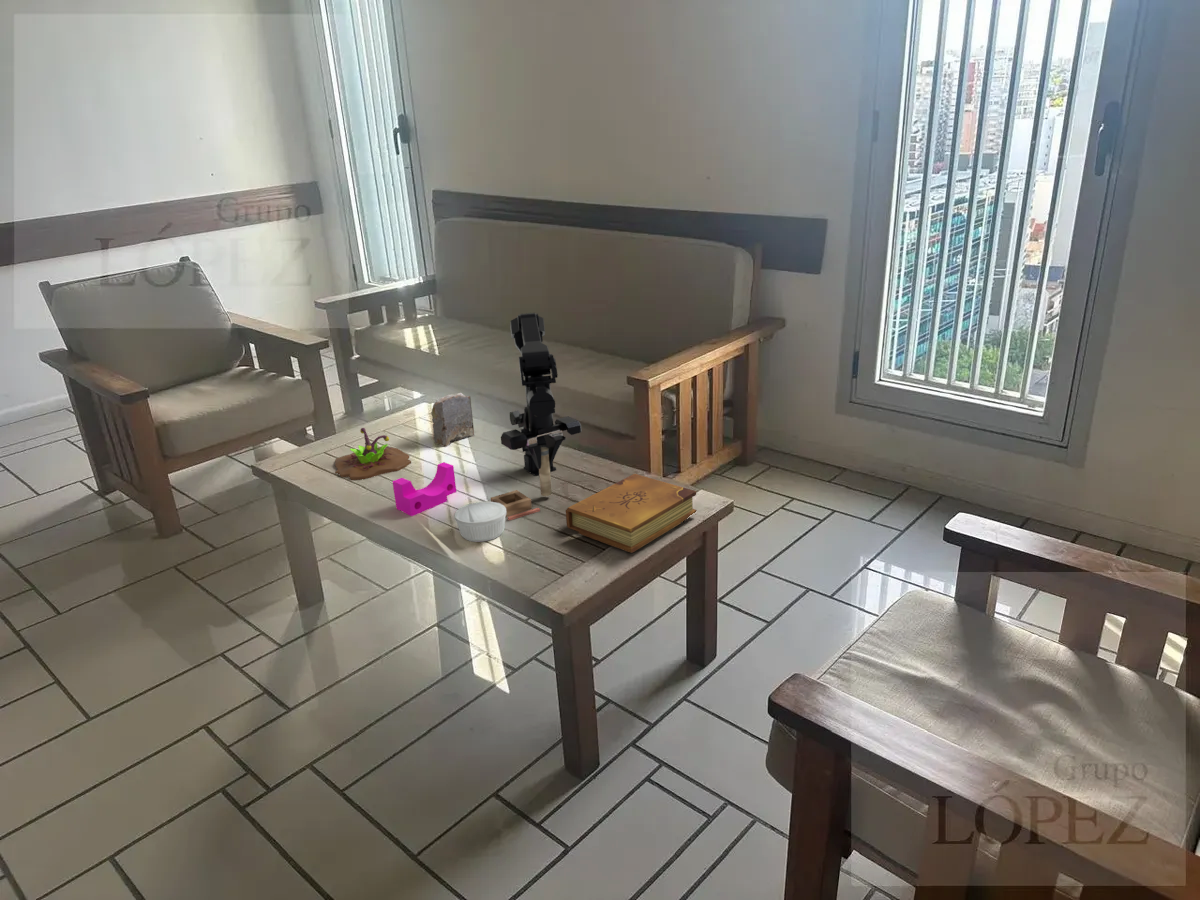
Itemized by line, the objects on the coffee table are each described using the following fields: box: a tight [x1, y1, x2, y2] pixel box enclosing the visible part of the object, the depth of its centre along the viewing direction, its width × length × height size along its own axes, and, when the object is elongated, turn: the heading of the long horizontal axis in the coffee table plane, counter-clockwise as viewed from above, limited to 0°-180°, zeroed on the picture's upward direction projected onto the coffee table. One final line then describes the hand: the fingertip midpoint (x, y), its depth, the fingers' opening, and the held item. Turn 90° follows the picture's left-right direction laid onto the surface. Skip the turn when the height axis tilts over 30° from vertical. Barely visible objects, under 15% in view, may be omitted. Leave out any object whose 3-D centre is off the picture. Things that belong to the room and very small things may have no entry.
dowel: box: [538, 447, 553, 497], centre depth 200 cm, size 3×3×12 cm
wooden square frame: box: [489, 489, 541, 521], centre depth 197 cm, size 8×9×2 cm
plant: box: [334, 427, 412, 481], centre depth 226 cm, size 20×20×11 cm
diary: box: [565, 473, 698, 554], centre depth 188 cm, size 23×19×6 cm
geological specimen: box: [430, 392, 475, 447], centre depth 239 cm, size 11×6×15 cm, turn 138°
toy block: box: [392, 461, 457, 517], centre depth 202 cm, size 15×6×8 cm, turn 137°
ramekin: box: [454, 501, 506, 543], centre depth 186 cm, size 11×11×5 cm
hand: (544, 466), depth 200 cm, fingers closed on dowel, 3 cm apart
